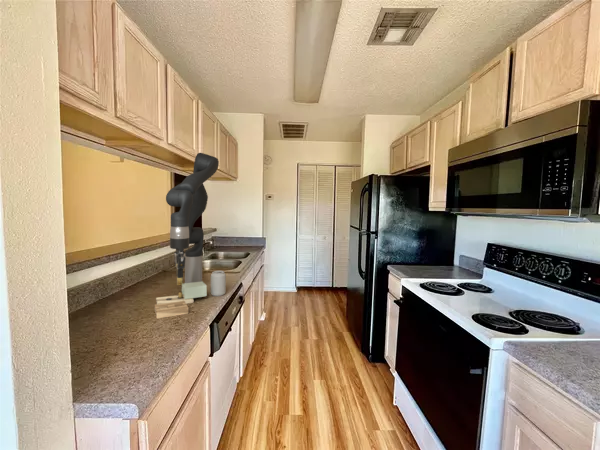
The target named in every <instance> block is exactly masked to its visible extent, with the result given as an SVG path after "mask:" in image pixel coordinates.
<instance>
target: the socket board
mask: <svg viewBox="0 0 600 450" xmlns="http://www.w3.org/2000/svg"><path fill="white" fill-rule="evenodd" d="M154 312H155V317H156V319H158V320H159V319H164V318H168V317H169V318H170V317H175V316H180V315H188V314H189V306H188V303H187V304H186V303H185V301H178V302H171V303H164V304H157V303H156V304H154Z"/></svg>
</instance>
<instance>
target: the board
mask: <svg viewBox="0 0 600 450" xmlns="http://www.w3.org/2000/svg"><path fill="white" fill-rule="evenodd" d="M177 293H178V294H176V295H175V294H174V295H169V296H160V297H155V302H156V305H157V304H164V303H171V302H178V301H185V303H186V304H187V305H188V304H192V303H194V298H189V299H184V294H183V295H182V291H179V292H177Z"/></svg>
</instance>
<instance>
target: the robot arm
mask: <svg viewBox="0 0 600 450" xmlns="http://www.w3.org/2000/svg"><path fill="white" fill-rule="evenodd" d="M219 162H220V161H219V159H218V158H217V157H215V156H213V155H209V154H207V153H203V152H198V153H197V154H196V155H195V158H194V163H193V172H192V173H190V174H189V175H188V176H186V177H185V178H184V179H183V180H182V182H181V183H179V184H177V185H176V186H174V187H172V188H171V189H170V190H168V191H167V194H166V195H165V201H166V203H167V205H168V206H171V207H180V208H179V211H177V212H176V211H175V212H172V213H171V215H170V230H169V248H170V249H172V250H175V252H174V253H173V256H174V265H175V266H174V267H175V268H176V271H175V272H176V273H175V275H176V278H177V277H178V278H182V277H183V278H184V283H193V282H202V281H203V251H204V233H205V232H204V230H203V229H202V227H194V225H195V223H196V221H197V220H198V219H199V217H201V216H202V215H203V213H204V212H205V210H206V209H207V205H208V199H209V196H208V195H209V194H208V192H207V190H206V188H205V185H204V183H205V182H206V181H208V180H209V179H210V178H211V177H212V176H214V175H215V174H216V173H217V171H218V167H219V164H220V163H219ZM190 245H193V246H192V247H190ZM185 249H186V250H185ZM181 264H182V266H180V265H181Z"/></svg>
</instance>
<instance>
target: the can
mask: <svg viewBox="0 0 600 450" xmlns="http://www.w3.org/2000/svg"><path fill="white" fill-rule="evenodd" d="M226 275H227V274H226V273H225V271H223V270H214V271H212V272H211V274H210V294H211V295H212V296H213V297H221V296H223V295H225V294H226V292H227V290H226V289H227V288H226V287H227V285H226V284H227V283H226V279H227V278H226V277H227V276H226Z"/></svg>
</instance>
